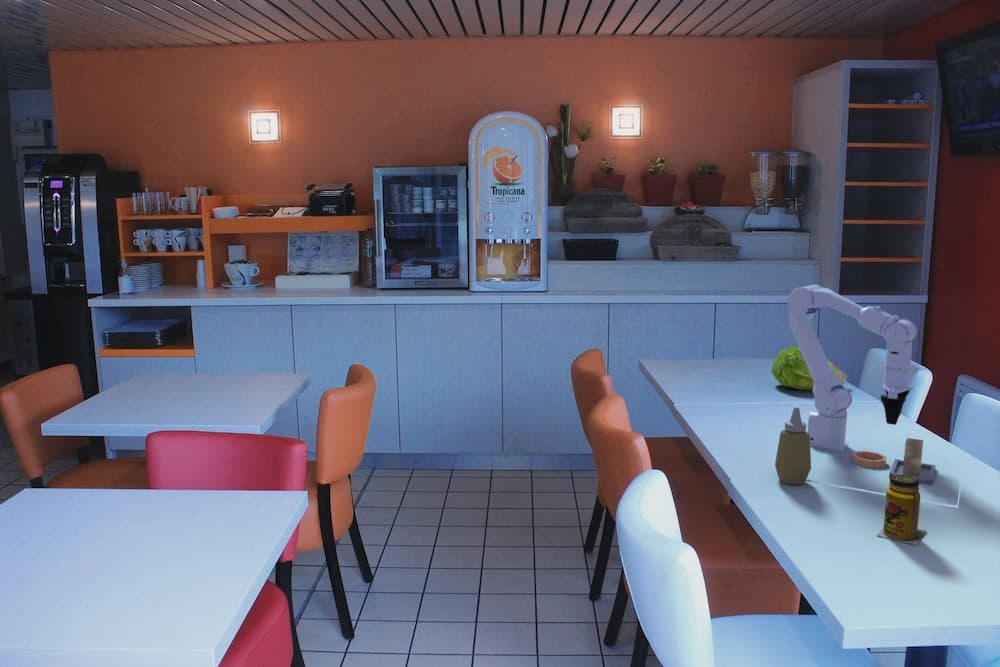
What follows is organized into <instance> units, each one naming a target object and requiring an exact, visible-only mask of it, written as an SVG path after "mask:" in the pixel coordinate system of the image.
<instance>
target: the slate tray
mask: <svg viewBox="0 0 1000 667" xmlns="http://www.w3.org/2000/svg"><path fill="white" fill-rule="evenodd" d="M903 465H904V459H903V460H902V459H898V458H895V459H894V461H893V464H892V465H891V469H890V471H889V474H888V478H889V479H890V477H891V476H893V475H908V474H903ZM936 466H937V465H934V464H928V463H924V462H923V463H922V462H921V471H920V475H919V476H914V475H908V476H912V477H914V478H916V479H918V480H919V484H926V485H931V486H932V485H933V481H934V477H935V472H936Z"/></svg>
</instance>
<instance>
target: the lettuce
mask: <svg viewBox="0 0 1000 667" xmlns="http://www.w3.org/2000/svg"><path fill="white" fill-rule="evenodd" d="M828 362H829V365H830V367H831V369H832V371H833V374H834V376H835V377H837V378H838V379H839V380H841V381H842V384H843V385H845V383H846V382H847V380H848V376H847V375H846V374H845V373H844V372H843V370H841V369H839V368H838V367H837V366H836V365H834V364H833V362H831V361H829V360H828ZM771 374H772V375H773V377H774V378H775V379H776V381H777V382H778V384H780V385H782V386H784V387H788V388H792V389H797V390H807V391H813V387H814V381H813V378H812V376H811V374H810V372H809V369H808V367H807V365H806V362H805V360H804V358H803V356H802V353H801V351H800V349H799V346H798V345H793V346H790V347H787V348H784V349H782V350H781V351H780V352H778V354H777V355H776V356H775V358H774V361H773V364H772V368H771Z"/></svg>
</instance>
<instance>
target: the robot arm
mask: <svg viewBox="0 0 1000 667" xmlns="http://www.w3.org/2000/svg"><path fill="white" fill-rule="evenodd" d="M786 303H787V306H788V314H787V315H788V317H787V321H788V322H787V324H788V326H789V328H790V330H791V333H792V335H793V337H794V339H795V342H796V344H797V347H799V349H800V351H801V353H802V356H803V358H804V360H805V362H806V365H807V367H808V369H809V372H810V374H811V376H812V378H813V381H814V387H813V390H812V394H813V397H814V407H815V409H816V411H814V410H813V411H812V410H811V411H810V413H809V416H808V421H807V433H808V434H809V435H810V447H811V446H812V447H820V448H826V449H832V450H836V451H837V450H838V451H845V449H846V447H847V446H848V444H849V441H846V434H847V433H846V432H847V420H848V419H847V418H848V408H850V406H852V402H853V396H852V393H851V392H850V390H848V389H847V388H846V387H845V385H844V384H842V381H841V380H839V379H838V378H837V377H835V376H834V374H833V371H832V369H831V367H830V365H829V362H830V361H829V360H828V358H827V356H826V354H825V352H824V350H823V346H822V344H821V343H820V340H819V338H818V335H817V333H816V331H815V329H814V327H813V324H812V320H813V319H814V317H815V314H816V312H818V310H819V309H820V308H831V309H833V310H836V311H837V312H840V313H843V314H844V315H847V316H850V317H852V318H854V319H856V320H857V322H858V324H859V326H860V327H862V328H863V329H867V330H868V331H870V332H872V333H874V334H877V335H878V336H881V337H883V339H884V340H885V341H886V350H885V351H886V352H885V359H884V360H885V361H884V362H885V363H884V374H883V382H882V388H883V389H884V391H885V393H886V395H885V394H881V395H880V401H881V403H882V404H883V409H884V414H885V420H886V422H885V423H886V424H888V425H895V426H896V425H897V423H898V422H899V421H898V420H899V418H900V416H901V413H902V410H903V406H904V403H905V402H906V400H907V396H908V395H909V393H910V391H913V390H914V389H915V386H914V385H910V378H911V377H910V374H911V365H912V364H911V363H912V353H913V349H912V348H913V340H914V339H915V338H916V336H917V334H918V329H917V326H916V325H915V323H913V322H912V321H910V319H908V318H899V316H898V315H897V314H896V315H895V314H893V315H892V314H890V313H887V312H886V311H884V310H882V307H881V306H878V305H875V306H873V305H869V306H866V307H863V306H861V305H859V304H858V303H855V302H854V301H852V300H851V299H848V298H846V297H844V296H843V295H840V294H838V293H837V292H835V291H833V290H831V289H830V288H827V287H823V286H821V285H820V284H811V285H807V286H801V287H800V286H797V287H795V288H794V289H792V291H791V292H790V294H789V296H788V298H787V299H786ZM828 361H829V362H828Z"/></svg>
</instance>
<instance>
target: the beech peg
mask: <svg viewBox="0 0 1000 667" xmlns="http://www.w3.org/2000/svg"><path fill="white" fill-rule="evenodd" d="M904 443H905V445H904V455H903V460H904V465H903V474H908V475H914V476H919V475H920V471H921V463H922V460H923V459H922V458H923V457H922V456H923V447H924V440H923V439H918V438H917V439H916V438H910V437H907V438H906V440H905V442H904Z"/></svg>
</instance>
